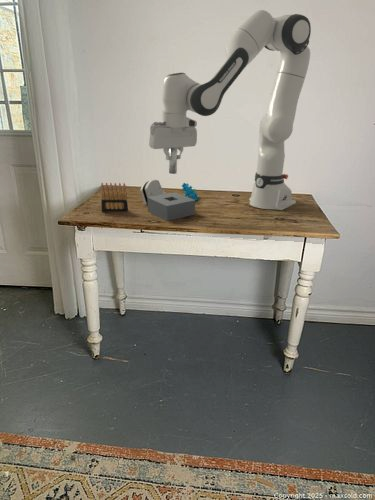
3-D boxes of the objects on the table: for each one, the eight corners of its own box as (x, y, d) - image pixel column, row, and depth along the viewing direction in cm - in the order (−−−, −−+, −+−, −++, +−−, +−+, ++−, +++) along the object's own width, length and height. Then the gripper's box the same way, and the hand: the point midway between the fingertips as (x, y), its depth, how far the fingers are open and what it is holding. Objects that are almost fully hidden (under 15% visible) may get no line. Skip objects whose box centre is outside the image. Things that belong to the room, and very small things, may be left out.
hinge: (154, 205, 151) (147, 184, 148) (145, 208, 153) (137, 186, 150) (167, 195, 166) (160, 175, 163) (158, 198, 168) (151, 178, 164)
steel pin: (173, 171, 138) (174, 146, 133) (178, 173, 135) (179, 147, 131) (167, 172, 136) (168, 146, 132) (172, 174, 134) (172, 147, 130)
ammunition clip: (101, 211, 142) (99, 183, 137) (102, 210, 144) (100, 182, 139) (127, 211, 143) (126, 183, 138) (128, 210, 145) (126, 182, 140)
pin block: (174, 205, 152) (174, 192, 150) (194, 214, 142) (195, 200, 140) (147, 211, 144) (147, 197, 142) (166, 220, 134) (166, 206, 132)
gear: (193, 200, 154) (180, 182, 155) (184, 208, 157) (171, 190, 158) (203, 197, 164) (190, 181, 165) (194, 205, 167) (182, 188, 167)
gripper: (155, 122, 119) (155, 163, 125) (200, 121, 131) (198, 158, 137) (145, 121, 124) (146, 160, 130) (189, 120, 136) (188, 156, 141)
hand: (173, 159), depth 133 cm, fingers closed on steel pin, 3 cm apart
